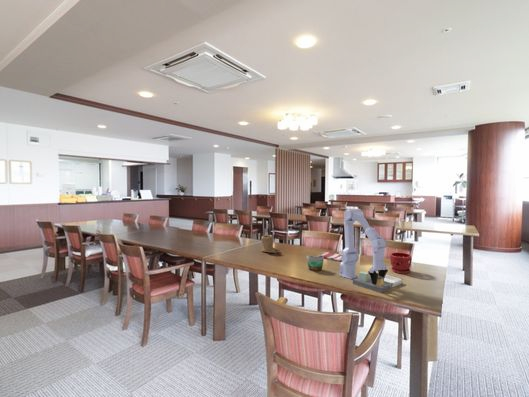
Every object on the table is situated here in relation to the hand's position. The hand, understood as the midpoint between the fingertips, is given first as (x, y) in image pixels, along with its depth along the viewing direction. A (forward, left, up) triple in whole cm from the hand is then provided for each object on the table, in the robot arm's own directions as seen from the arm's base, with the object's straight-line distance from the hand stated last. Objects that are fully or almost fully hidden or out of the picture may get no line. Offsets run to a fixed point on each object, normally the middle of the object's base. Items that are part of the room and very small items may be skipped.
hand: (377, 282), depth 161 cm
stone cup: (-104, +4, -4) cm, 104 cm away
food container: (-45, -3, -4) cm, 45 cm away
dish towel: (-58, +35, -4) cm, 67 cm away
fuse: (-9, 0, -3) cm, 10 cm away
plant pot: (-8, +41, -4) cm, 42 cm away
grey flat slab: (-5, 0, -3) cm, 6 cm away
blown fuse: (0, 0, -3) cm, 3 cm away
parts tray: (-4, +14, -3) cm, 15 cm away
